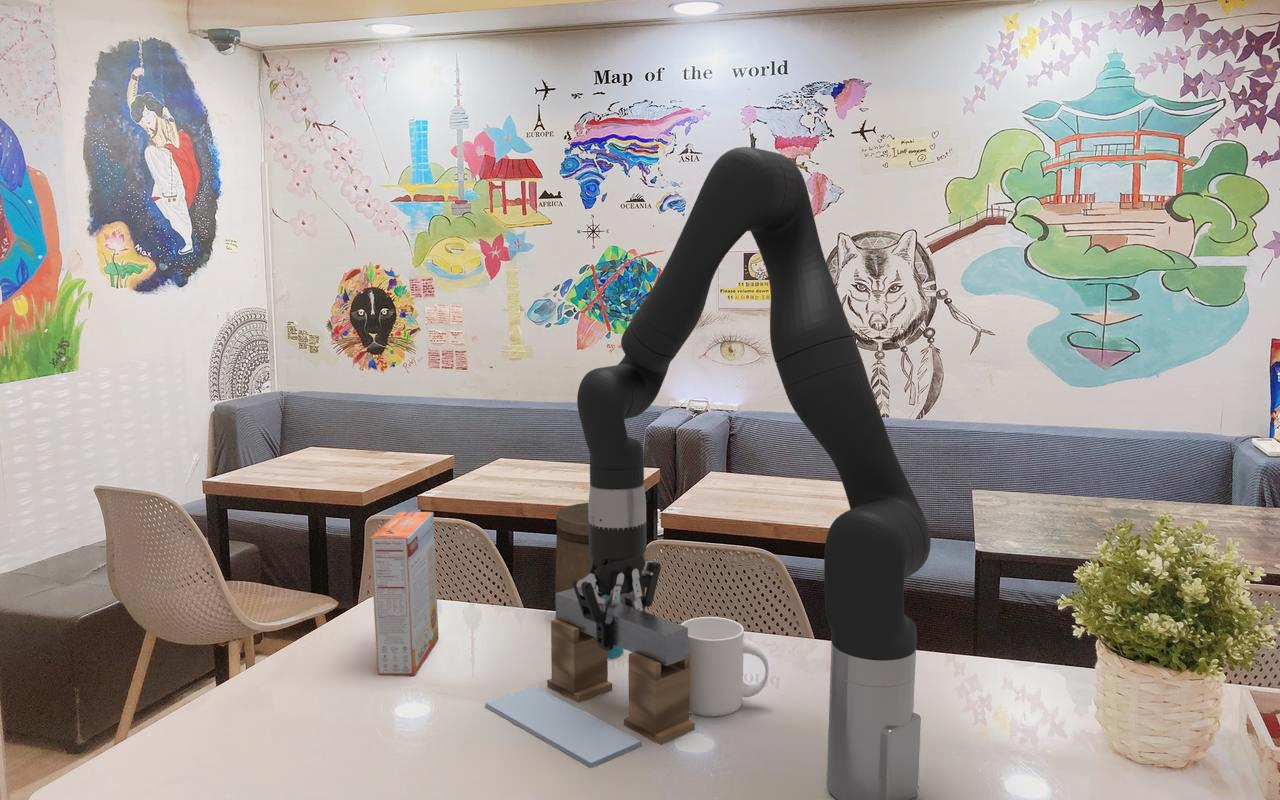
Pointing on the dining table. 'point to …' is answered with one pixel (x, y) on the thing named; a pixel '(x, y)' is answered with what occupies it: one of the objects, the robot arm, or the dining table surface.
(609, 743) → the mat
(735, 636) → the mug
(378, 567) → the cracker box
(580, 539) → the wooden container
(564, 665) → the post
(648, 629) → the rail
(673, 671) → the post
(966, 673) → the dining table surface
